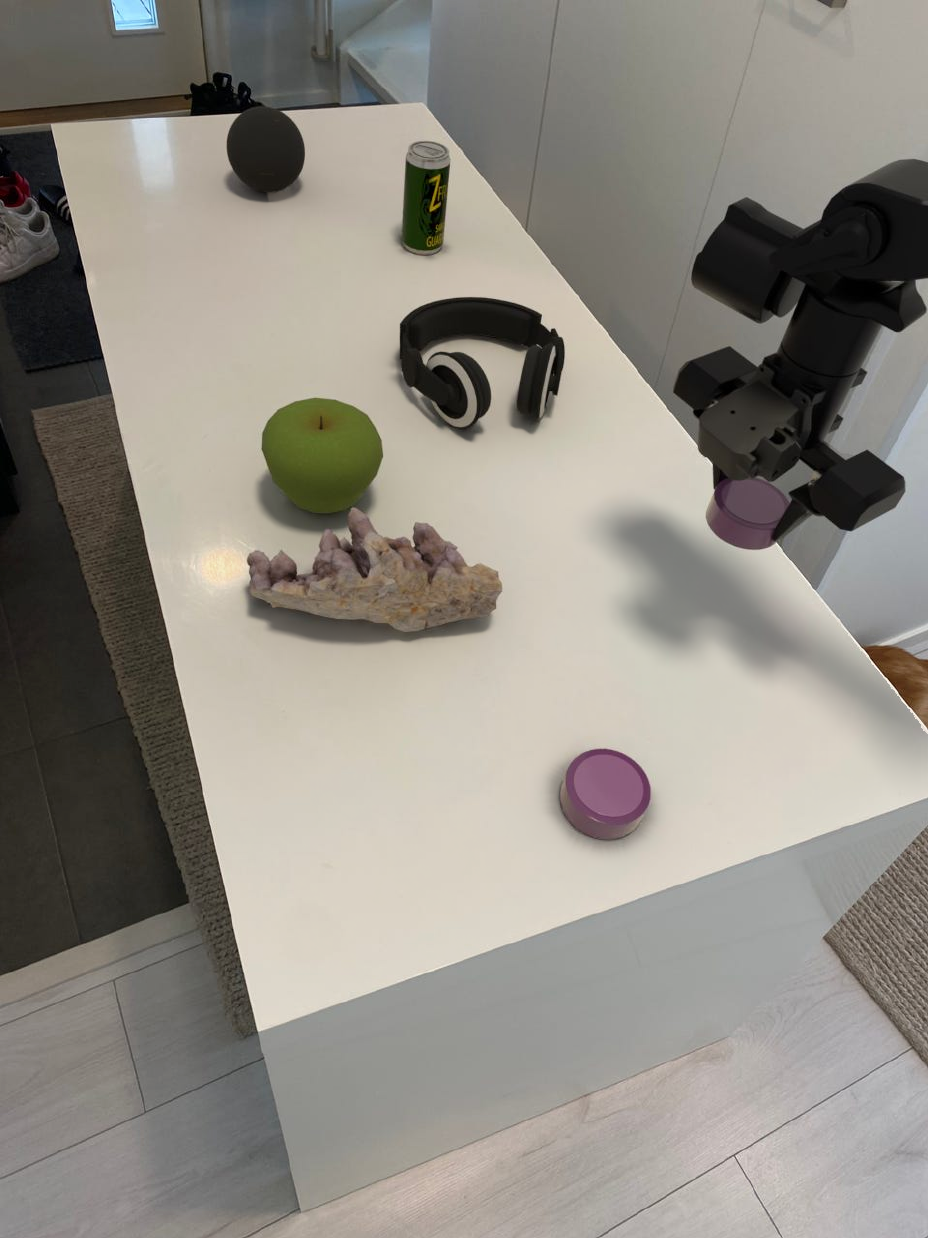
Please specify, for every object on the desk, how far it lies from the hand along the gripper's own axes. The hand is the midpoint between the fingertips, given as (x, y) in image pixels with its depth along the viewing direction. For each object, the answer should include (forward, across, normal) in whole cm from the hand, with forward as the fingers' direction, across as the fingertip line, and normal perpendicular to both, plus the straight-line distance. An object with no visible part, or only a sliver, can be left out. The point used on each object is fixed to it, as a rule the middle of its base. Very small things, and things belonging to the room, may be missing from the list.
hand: (747, 513), depth 77 cm
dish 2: (+1, 0, 0) cm, 1 cm away
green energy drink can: (+11, -63, +10) cm, 65 cm away
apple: (+11, -28, -24) cm, 39 cm away
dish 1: (+11, +11, -22) cm, 27 cm away
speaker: (+11, -84, -1) cm, 85 cm away
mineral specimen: (+11, -14, -27) cm, 32 cm away
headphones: (+11, -36, 0) cm, 38 cm away
